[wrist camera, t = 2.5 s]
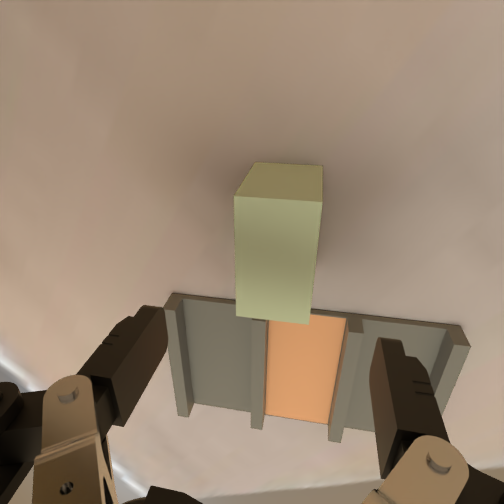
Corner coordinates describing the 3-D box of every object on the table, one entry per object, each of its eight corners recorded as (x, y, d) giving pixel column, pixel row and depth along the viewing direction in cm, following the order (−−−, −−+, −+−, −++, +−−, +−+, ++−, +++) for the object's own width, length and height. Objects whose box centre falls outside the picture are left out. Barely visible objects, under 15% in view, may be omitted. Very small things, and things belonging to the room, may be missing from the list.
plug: (254, 261, 25) (235, 316, 19) (255, 161, 21) (233, 195, 16) (311, 266, 24) (308, 324, 19) (322, 165, 21) (322, 202, 15)
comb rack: (185, 396, 33) (177, 415, 31) (172, 293, 27) (161, 309, 25) (418, 433, 30) (424, 457, 28) (460, 325, 24) (471, 346, 22)
